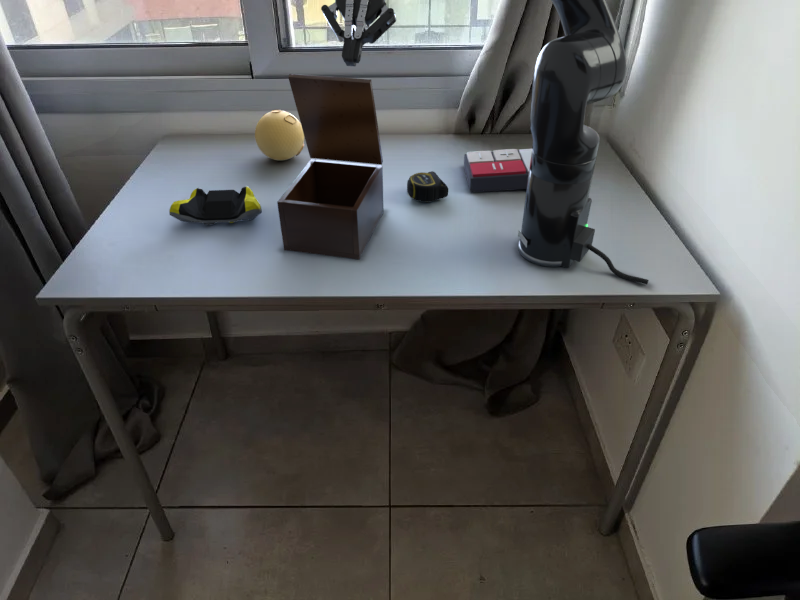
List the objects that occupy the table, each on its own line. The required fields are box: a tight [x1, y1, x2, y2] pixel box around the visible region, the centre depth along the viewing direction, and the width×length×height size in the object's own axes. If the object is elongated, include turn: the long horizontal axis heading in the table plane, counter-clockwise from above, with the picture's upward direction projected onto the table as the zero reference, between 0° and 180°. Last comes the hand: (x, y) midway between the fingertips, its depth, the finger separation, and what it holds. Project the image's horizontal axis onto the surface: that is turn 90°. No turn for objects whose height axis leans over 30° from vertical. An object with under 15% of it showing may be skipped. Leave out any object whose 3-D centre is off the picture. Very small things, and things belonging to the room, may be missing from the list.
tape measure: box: [406, 170, 449, 203], centre depth 114 cm, size 7×7×4 cm
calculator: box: [463, 148, 532, 193], centre depth 120 cm, size 11×4×15 cm
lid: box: [287, 73, 384, 166], centre depth 99 cm, size 17×13×1 cm
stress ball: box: [254, 109, 305, 161], centre depth 126 cm, size 10×10×10 cm
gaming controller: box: [169, 185, 263, 226], centre depth 107 cm, size 15×6×10 cm
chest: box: [276, 158, 385, 260], centre depth 103 cm, size 16×13×9 cm
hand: (350, 63), depth 101 cm, fingers closed
